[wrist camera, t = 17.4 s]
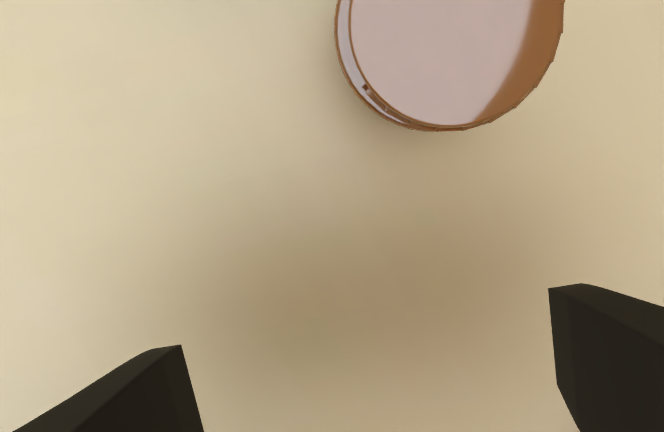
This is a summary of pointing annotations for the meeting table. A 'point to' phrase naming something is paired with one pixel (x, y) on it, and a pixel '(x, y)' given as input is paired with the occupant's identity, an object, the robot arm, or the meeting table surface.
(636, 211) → the meeting table surface
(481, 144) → the meeting table surface
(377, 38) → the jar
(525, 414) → the meeting table surface
